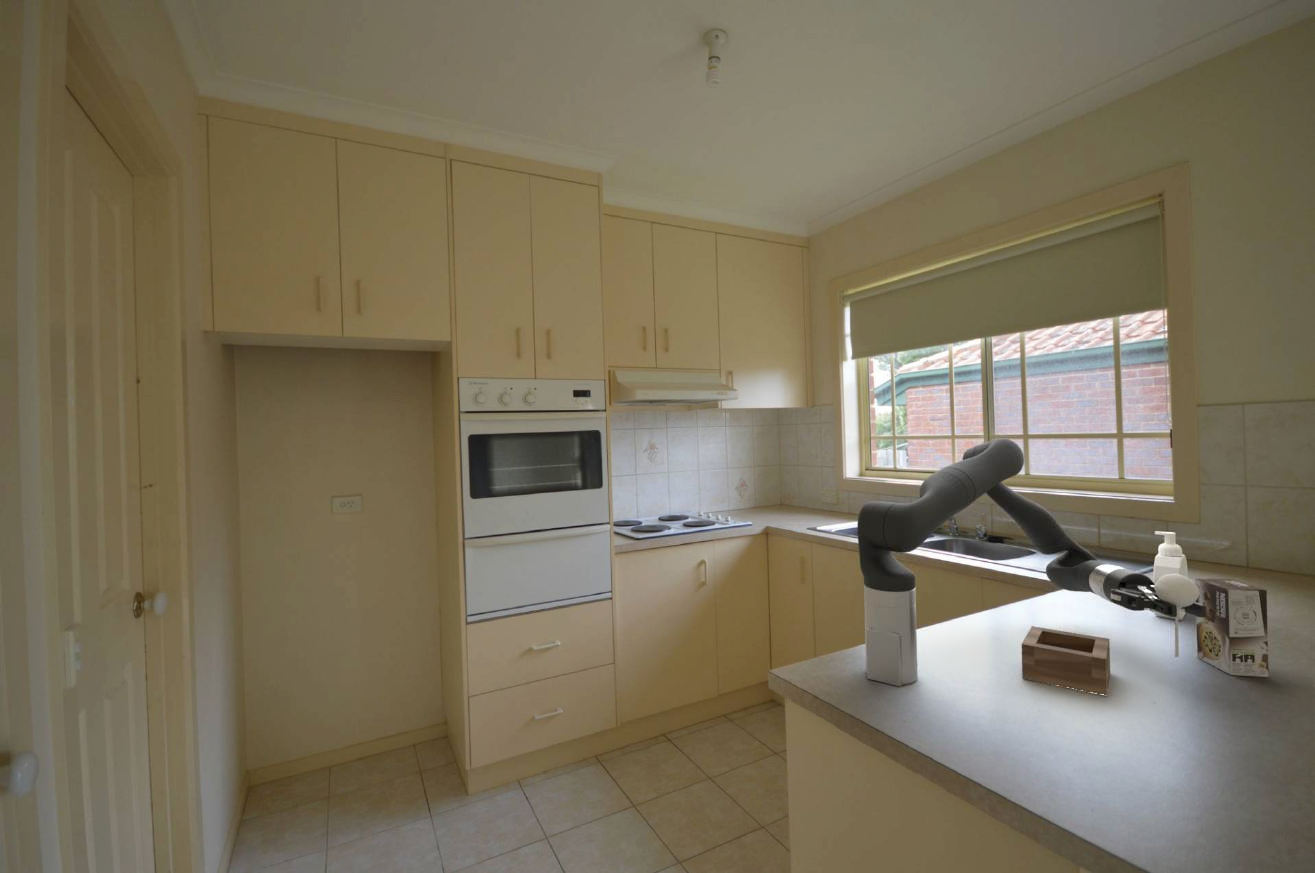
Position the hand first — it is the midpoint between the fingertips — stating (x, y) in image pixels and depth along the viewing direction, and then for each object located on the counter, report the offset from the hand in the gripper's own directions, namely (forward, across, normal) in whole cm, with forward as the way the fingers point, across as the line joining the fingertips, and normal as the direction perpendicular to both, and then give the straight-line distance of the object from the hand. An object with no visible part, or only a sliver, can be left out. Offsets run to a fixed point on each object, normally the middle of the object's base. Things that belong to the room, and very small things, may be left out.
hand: (1189, 611), depth 103 cm
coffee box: (-11, +16, +14) cm, 23 cm away
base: (-6, -17, +14) cm, 23 cm away
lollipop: (-3, 0, +9) cm, 10 cm away
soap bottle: (-45, +30, +14) cm, 55 cm away
